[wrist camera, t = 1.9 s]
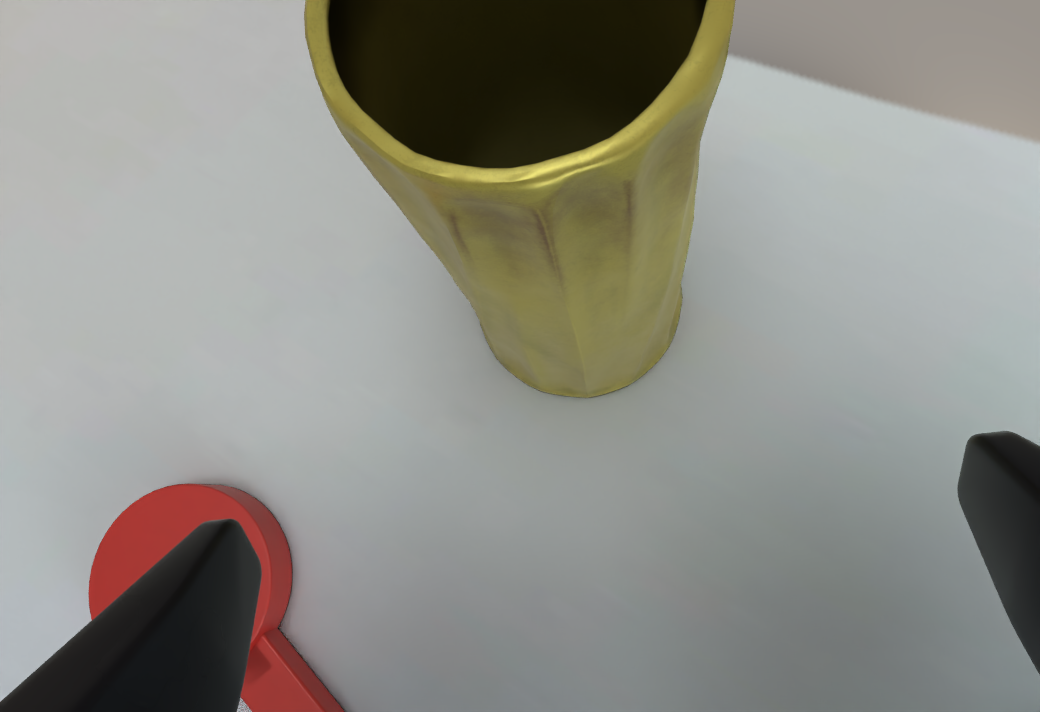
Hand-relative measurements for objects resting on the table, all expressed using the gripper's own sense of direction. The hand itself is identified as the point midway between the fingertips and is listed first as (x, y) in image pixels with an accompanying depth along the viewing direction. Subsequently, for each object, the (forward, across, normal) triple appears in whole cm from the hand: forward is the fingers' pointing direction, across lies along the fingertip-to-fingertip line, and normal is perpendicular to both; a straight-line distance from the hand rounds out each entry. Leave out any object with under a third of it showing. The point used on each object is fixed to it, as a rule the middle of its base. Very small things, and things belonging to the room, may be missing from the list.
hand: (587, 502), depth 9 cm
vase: (+13, 0, +5) cm, 14 cm away
